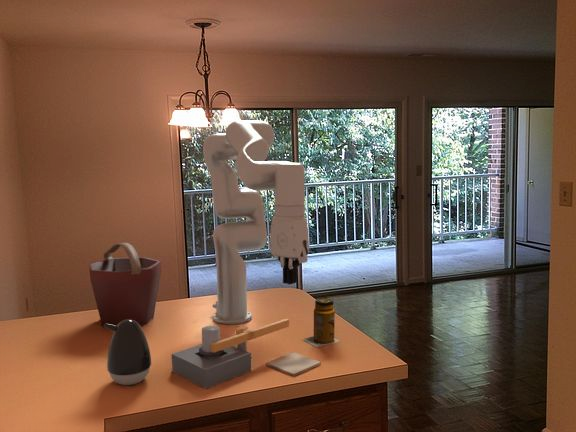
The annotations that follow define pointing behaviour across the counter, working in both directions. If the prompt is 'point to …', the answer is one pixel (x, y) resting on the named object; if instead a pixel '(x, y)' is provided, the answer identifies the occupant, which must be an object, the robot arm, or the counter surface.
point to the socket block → (211, 365)
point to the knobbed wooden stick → (248, 335)
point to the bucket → (125, 286)
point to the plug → (209, 342)
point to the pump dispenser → (128, 353)
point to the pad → (293, 363)
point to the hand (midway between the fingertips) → (290, 282)
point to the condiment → (323, 323)
